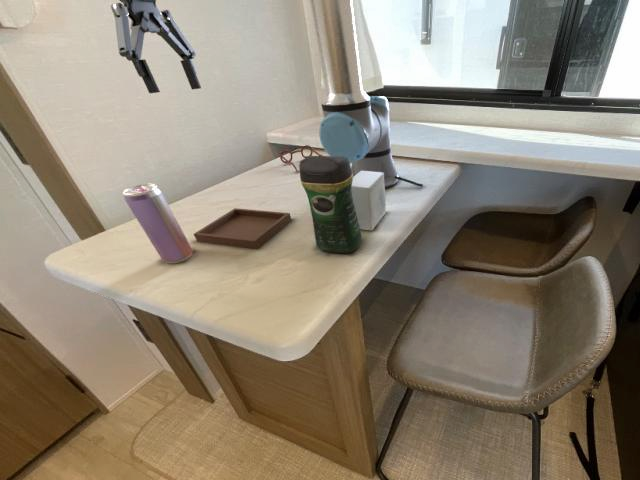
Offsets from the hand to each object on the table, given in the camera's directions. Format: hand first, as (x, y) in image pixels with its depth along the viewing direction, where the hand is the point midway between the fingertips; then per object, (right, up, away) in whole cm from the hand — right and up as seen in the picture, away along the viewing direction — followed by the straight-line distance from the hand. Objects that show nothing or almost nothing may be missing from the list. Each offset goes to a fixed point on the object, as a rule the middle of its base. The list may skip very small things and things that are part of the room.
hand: (177, 90), depth 83 cm
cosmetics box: (+52, -36, -5) cm, 63 cm away
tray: (+22, -39, -6) cm, 45 cm away
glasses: (+24, -5, +34) cm, 42 cm away
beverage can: (+11, -46, -15) cm, 50 cm away
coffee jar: (+46, -44, -14) cm, 65 cm away
